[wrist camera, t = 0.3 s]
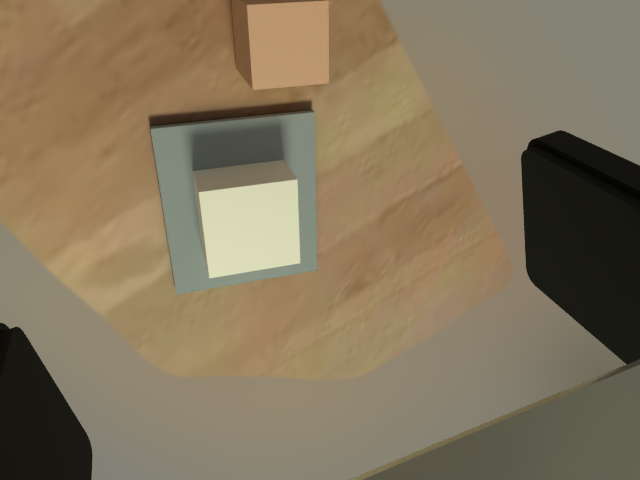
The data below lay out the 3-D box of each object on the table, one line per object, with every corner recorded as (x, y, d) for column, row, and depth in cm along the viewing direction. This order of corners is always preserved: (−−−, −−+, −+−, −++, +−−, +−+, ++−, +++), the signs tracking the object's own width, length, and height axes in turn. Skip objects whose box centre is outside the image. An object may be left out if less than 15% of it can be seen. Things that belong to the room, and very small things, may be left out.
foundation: (150, 126, 42) (153, 147, 39) (312, 109, 45) (330, 128, 42) (175, 290, 49) (181, 322, 45) (315, 266, 52) (331, 295, 48)
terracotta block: (230, -7, 40) (246, 4, 35) (302, -11, 41) (328, 0, 36) (236, 68, 42) (252, 89, 37) (304, 63, 44) (328, 83, 39)
